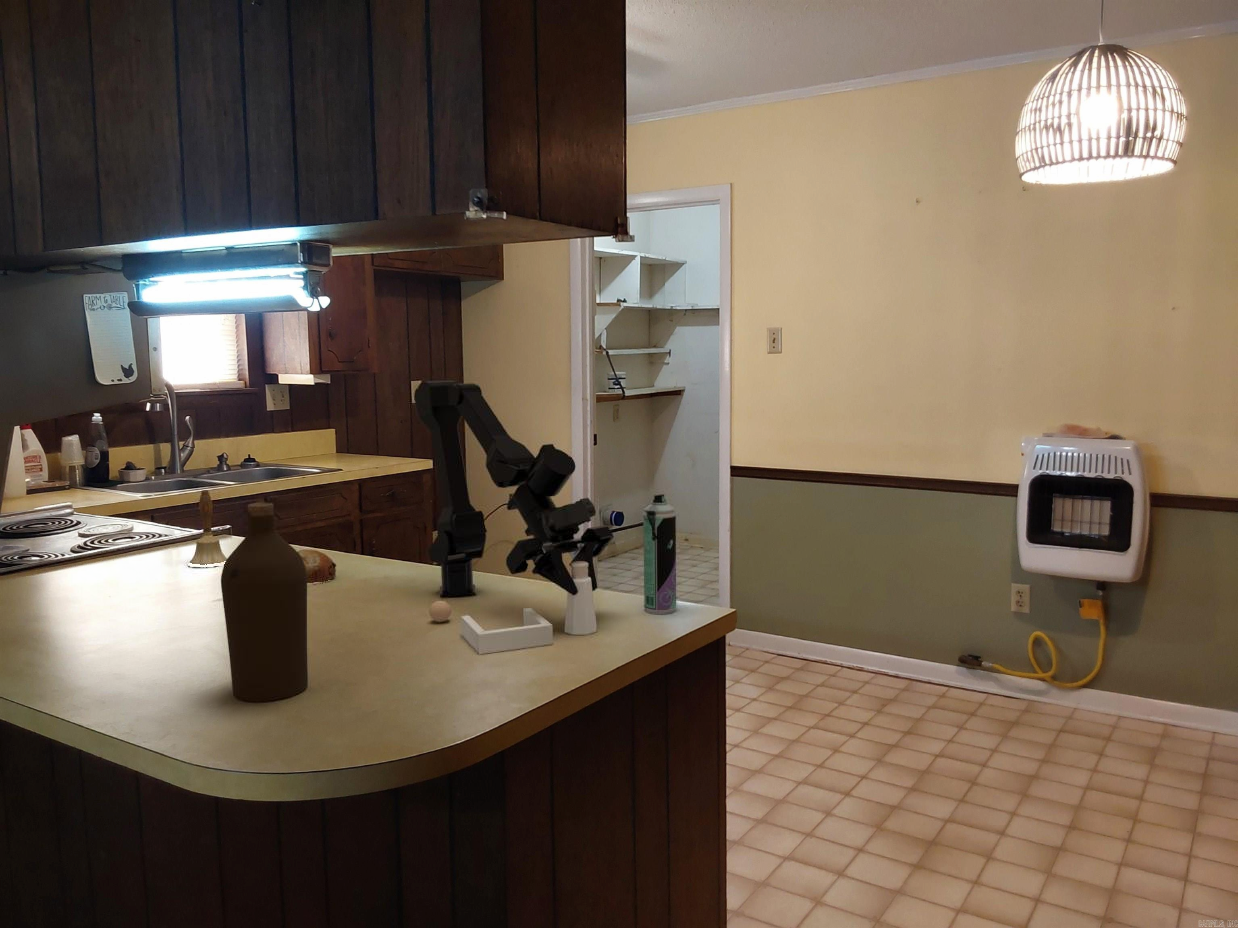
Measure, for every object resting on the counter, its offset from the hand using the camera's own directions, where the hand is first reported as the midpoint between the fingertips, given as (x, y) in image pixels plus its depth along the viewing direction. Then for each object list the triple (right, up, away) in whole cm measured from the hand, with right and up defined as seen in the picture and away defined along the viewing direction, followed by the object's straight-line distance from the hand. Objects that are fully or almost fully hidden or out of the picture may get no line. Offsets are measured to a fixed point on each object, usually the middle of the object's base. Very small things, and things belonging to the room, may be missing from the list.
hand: (585, 591), depth 151 cm
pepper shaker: (-1, -7, +2) cm, 7 cm away
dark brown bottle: (-41, -10, -23) cm, 48 cm away
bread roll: (-56, -3, +39) cm, 68 cm away
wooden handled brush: (-82, -1, +54) cm, 99 cm away
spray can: (+12, -5, +13) cm, 19 cm away
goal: (-12, -7, -2) cm, 14 cm away
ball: (-24, -6, +8) cm, 26 cm away
